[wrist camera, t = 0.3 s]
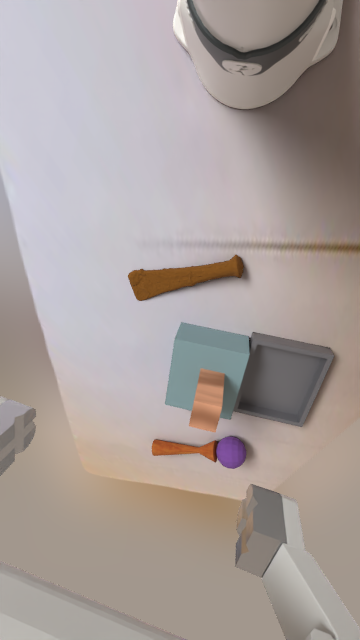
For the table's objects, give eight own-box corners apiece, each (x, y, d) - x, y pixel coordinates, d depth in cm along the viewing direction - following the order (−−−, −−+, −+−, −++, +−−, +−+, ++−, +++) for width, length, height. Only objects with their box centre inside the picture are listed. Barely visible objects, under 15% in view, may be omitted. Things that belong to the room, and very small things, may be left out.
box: (252, 332, 51) (253, 339, 49) (330, 347, 49) (334, 355, 47) (232, 401, 58) (232, 410, 56) (299, 417, 57) (301, 427, 55)
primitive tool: (138, 300, 53) (131, 308, 50) (126, 271, 51) (119, 277, 48) (245, 273, 47) (246, 279, 44) (237, 239, 45) (237, 244, 42)
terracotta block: (200, 368, 49) (194, 400, 42) (224, 373, 48) (222, 407, 41) (195, 391, 51) (188, 426, 44) (218, 396, 51) (215, 432, 43)
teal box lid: (181, 322, 52) (174, 338, 47) (248, 336, 51) (249, 354, 46) (171, 383, 59) (164, 404, 54) (231, 397, 58) (230, 419, 52)
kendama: (147, 444, 62) (242, 450, 56) (157, 427, 68) (245, 431, 61) (152, 468, 64) (246, 476, 57) (161, 450, 69) (248, 455, 63)
